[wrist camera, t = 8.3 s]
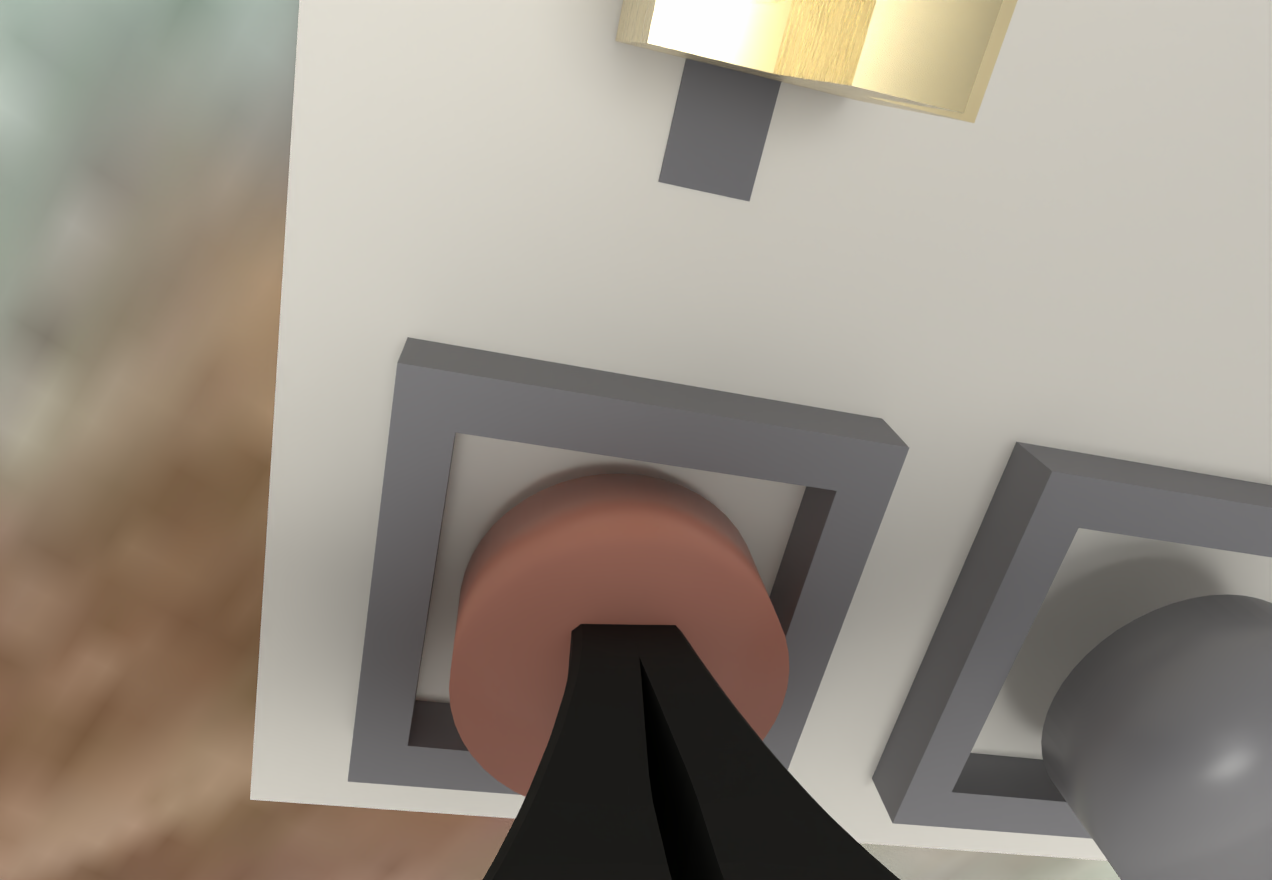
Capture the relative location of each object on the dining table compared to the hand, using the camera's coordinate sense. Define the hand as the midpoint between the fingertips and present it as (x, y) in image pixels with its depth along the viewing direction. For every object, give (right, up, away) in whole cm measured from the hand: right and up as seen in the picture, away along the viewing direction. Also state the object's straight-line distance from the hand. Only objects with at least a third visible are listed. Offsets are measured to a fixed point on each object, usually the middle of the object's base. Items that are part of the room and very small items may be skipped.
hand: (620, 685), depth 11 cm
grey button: (+9, -1, +2) cm, 9 cm away
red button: (0, +1, +2) cm, 2 cm away
